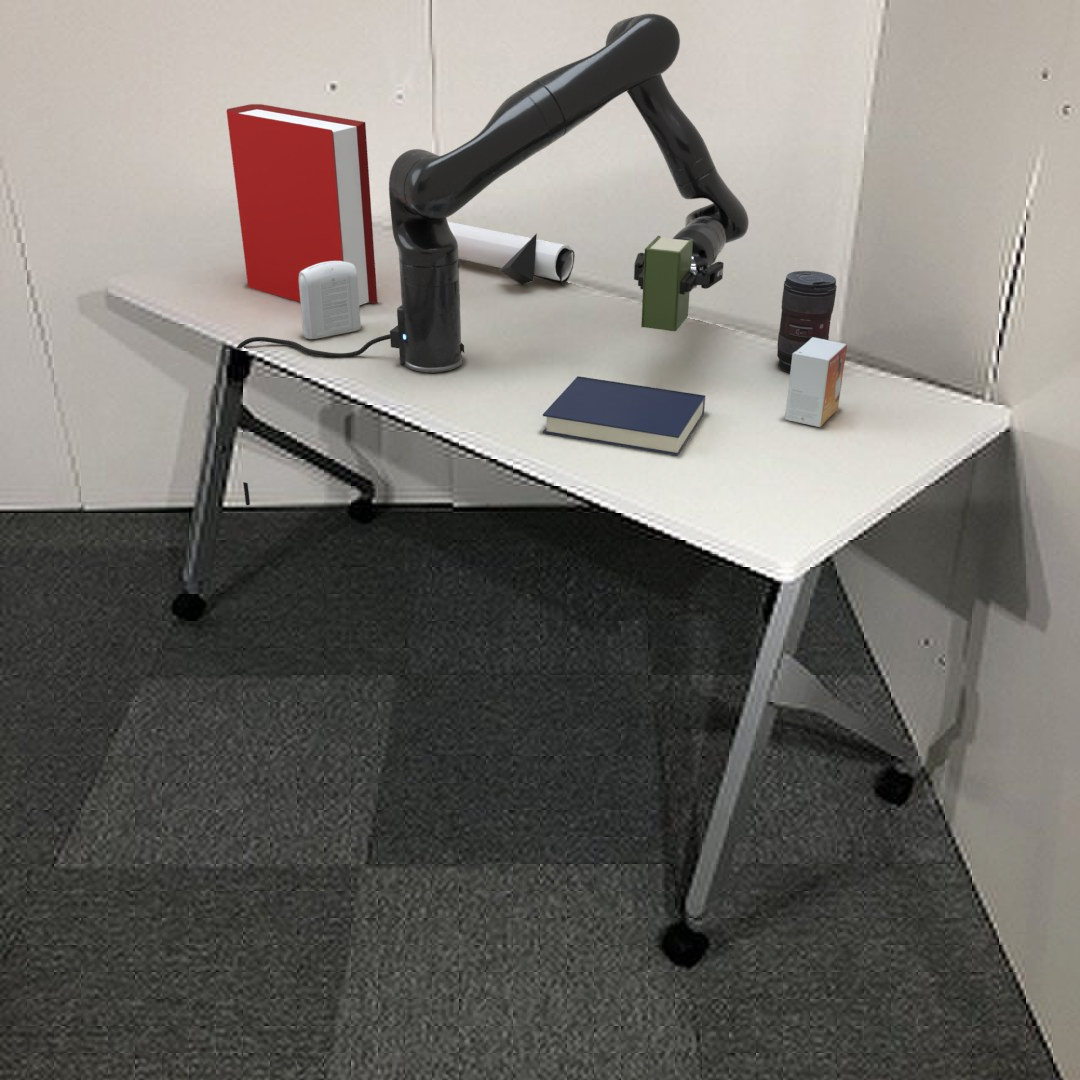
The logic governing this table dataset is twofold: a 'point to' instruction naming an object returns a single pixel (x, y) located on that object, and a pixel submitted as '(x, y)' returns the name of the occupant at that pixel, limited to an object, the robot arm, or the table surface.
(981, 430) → the table surface
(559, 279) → the diploma
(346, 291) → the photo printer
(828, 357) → the small box
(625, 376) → the table surface
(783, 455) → the table surface
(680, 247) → the dictionary
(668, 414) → the block
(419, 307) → the robot arm
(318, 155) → the book
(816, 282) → the camera lens
